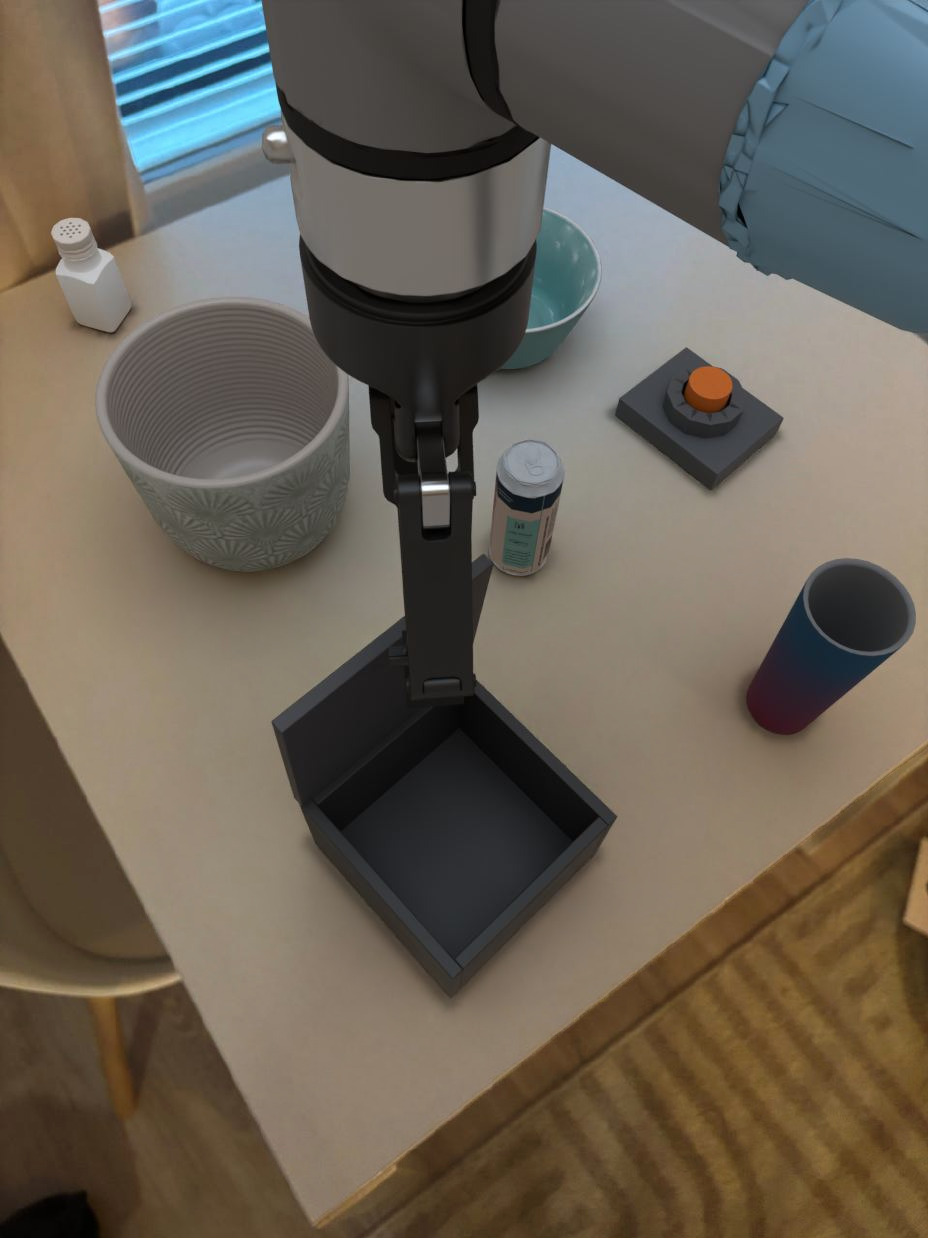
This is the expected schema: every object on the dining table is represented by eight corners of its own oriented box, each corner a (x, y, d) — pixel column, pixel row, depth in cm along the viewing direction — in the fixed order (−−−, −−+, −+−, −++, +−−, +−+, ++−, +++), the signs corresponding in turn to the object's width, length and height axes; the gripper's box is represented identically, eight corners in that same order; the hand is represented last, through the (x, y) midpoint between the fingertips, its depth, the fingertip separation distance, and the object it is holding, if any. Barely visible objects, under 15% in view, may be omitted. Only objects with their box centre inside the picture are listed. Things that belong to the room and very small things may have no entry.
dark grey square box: (595, 853, 65) (617, 816, 57) (450, 999, 60) (452, 980, 52) (459, 718, 69) (463, 666, 61) (314, 843, 64) (298, 804, 57)
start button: (735, 397, 80) (741, 383, 78) (708, 420, 78) (713, 406, 77) (702, 373, 81) (708, 359, 79) (675, 395, 80) (680, 381, 78)
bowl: (577, 411, 83) (591, 342, 76) (402, 383, 84) (400, 313, 77) (597, 287, 91) (611, 213, 83) (436, 262, 91) (436, 188, 84)
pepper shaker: (75, 325, 86) (36, 239, 78) (96, 296, 88) (61, 209, 80) (114, 336, 86) (80, 251, 77) (135, 306, 88) (103, 220, 79)
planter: (379, 583, 74) (367, 463, 61) (160, 621, 72) (98, 506, 59) (345, 419, 82) (328, 280, 69) (147, 448, 80) (89, 312, 66)
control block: (776, 434, 83) (791, 403, 79) (710, 490, 79) (723, 460, 76) (680, 363, 86) (691, 331, 83) (614, 415, 83) (622, 383, 80)
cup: (779, 764, 68) (863, 676, 55) (715, 693, 71) (779, 593, 57) (844, 713, 70) (939, 617, 57) (779, 646, 73) (856, 539, 59)
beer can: (532, 521, 77) (548, 425, 67) (557, 567, 75) (577, 476, 65) (479, 539, 76) (486, 445, 66) (502, 586, 74) (514, 497, 64)
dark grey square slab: (494, 563, 48) (483, 552, 48) (281, 733, 43) (270, 721, 43) (467, 667, 61) (459, 658, 61) (301, 807, 56) (293, 797, 56)
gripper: (292, -1, 35) (341, 392, 54) (302, 577, 23) (360, 822, 42) (493, -6, 35) (472, 385, 54) (603, 556, 24) (528, 808, 42)
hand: (423, 576), depth 48 cm, fingers open, 13 cm apart
